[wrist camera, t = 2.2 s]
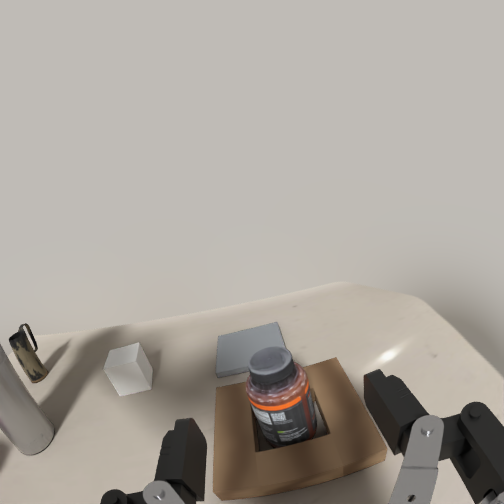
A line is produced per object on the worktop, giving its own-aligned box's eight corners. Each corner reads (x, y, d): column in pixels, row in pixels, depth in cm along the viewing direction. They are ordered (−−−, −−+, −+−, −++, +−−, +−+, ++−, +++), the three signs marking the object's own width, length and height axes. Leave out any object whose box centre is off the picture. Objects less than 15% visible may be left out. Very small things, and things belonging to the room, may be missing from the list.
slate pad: (217, 377, 39) (215, 372, 39) (219, 340, 49) (218, 336, 49) (289, 361, 39) (288, 356, 39) (278, 326, 50) (276, 321, 49)
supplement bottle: (300, 405, 30) (283, 331, 27) (327, 433, 24) (317, 358, 21) (256, 427, 28) (228, 356, 25) (278, 460, 22) (252, 391, 19)
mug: (41, 383, 42) (14, 336, 39) (27, 383, 41) (1, 338, 38) (55, 364, 49) (32, 320, 46) (41, 365, 49) (19, 323, 46)
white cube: (152, 389, 38) (135, 360, 37) (120, 397, 37) (103, 369, 36) (153, 369, 44) (139, 341, 42) (124, 376, 43) (109, 350, 41)
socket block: (221, 500, 18) (212, 491, 18) (222, 400, 34) (216, 387, 33) (384, 460, 18) (387, 448, 18) (337, 370, 34) (336, 357, 33)
